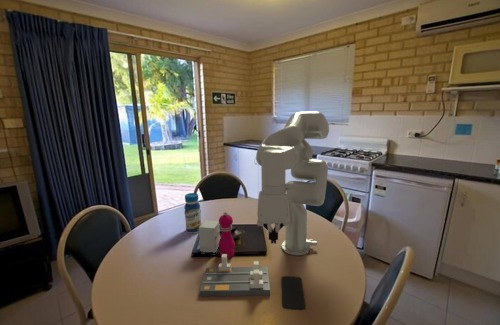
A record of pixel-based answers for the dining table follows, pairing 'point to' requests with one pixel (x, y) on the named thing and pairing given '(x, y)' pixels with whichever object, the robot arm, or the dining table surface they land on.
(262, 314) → the dining table surface
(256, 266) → the middle switch tab
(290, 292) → the phone
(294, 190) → the robot arm
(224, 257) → the back switch tab
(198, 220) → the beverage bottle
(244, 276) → the switch panel
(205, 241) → the supplement box
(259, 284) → the front switch tab
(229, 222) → the pepper mill
